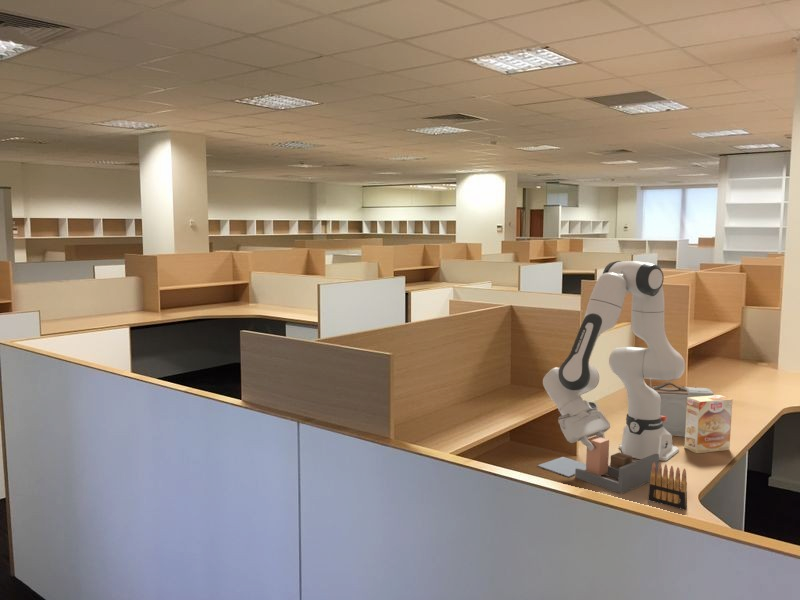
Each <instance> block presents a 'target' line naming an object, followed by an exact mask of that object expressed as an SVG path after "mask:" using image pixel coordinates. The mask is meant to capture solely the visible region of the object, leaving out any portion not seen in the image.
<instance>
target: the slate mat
mask: <svg viewBox="0 0 800 600" xmlns="http://www.w3.org/2000/svg"><path fill="white" fill-rule="evenodd" d="M537 467H538V468H540V469H544V470H546V471H550V472H552V473H556V474H558V475H560V474H561V476H563V475H564V477H566V478H570V477H573V476H574V477H575V469H576V468H578V469H581V470H584V471H586V463H583V462H581V461H577V460H575V459H571V458H568V457H565V456H561V457H558V458H555V459H553V460H549V461H546V462H543V463H540V464H537Z"/></svg>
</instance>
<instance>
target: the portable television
mask: <svg viewBox="0 0 800 600" xmlns="http://www.w3.org/2000/svg"><path fill="white" fill-rule="evenodd" d="M649 380H650V381H649V383H650V384H649V387H650V388H652V389H654V390H655V391H656V392H657V393H658V394H659V395H660V397H661V411H660V416H661V415H662V416H666V418H667V419H666V421H665V422H664V421H662V424H663V427H664V428H665V429H666V430H667V431H668V432H669V433H670V434H671V435H672V437H674V436H675V437H685V429H686V411H687V397H699V396H712V395H714V392H713V391H712V390H711V389H710V388H709V387H696V386H693V387H692V386H691V387H690V386H684V385H682V387H681V386H678V385H676V384H674V383H673V382H671V381H670V382H669V381H666V382H664V383H663V384H661V385H657V386H656V385H655V386H652V379H649ZM667 386H673V387H667Z"/></svg>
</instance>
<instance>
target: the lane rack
mask: <svg viewBox="0 0 800 600" xmlns="http://www.w3.org/2000/svg"><path fill="white" fill-rule="evenodd" d="M653 462H655V465H656V477H657V471H658V465H659V463H660V460H659V454H653V455H650V456H648V457H645V458H643V459H638V460H635V461H633V460H632V463H630V464H627V465H625V466H622V467H620V468H619V469H617V468H614V467H611V466H610V465H608V473H605V474H603V475H605V477H604V476H602V475H600V476H599V475H596V474H593V473H590V472H587V471H584V470H581V469H578V468H576V469H575V475H574V478H575V479H577V480H581V481H584V482H587V483H589V484H592V485H594V486H595V485H596V486H597V487H600V488H604V489H607V490H609V491H613V492H614V493H617V494H621V495H622V494H624V493H627V492H629V491H631V490H634V489H636V488H638V487H640V486H643V485H645V484H648V483H649V482H650V478H651V471H652V465H653ZM606 476H608V477H606ZM610 477H611V478H614V479H617V480H618V481H616V480H614V479H610Z"/></svg>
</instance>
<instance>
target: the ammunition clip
mask: <svg viewBox="0 0 800 600" xmlns="http://www.w3.org/2000/svg"><path fill="white" fill-rule="evenodd" d="M662 467H663V468H662ZM662 470H663V471H662ZM668 470H669V471H668ZM686 470H687V469H686V468H683V470H682V472H681V470H680V468H679V466H677V468H676V470H675V472H674V467H673V465H671V466H670V469H668V464H665V465H664V466H662V464H661V462H659V465H658V471H657V477H656V465H655V462H653V465H652V471H651V478H650V483H649V489H648V499H647V500H648V501H649V500H650V502H653V501H654V503H657V502H658V503H657V504H661V503H662V505H666V506H669V507H673V508H675V509H676V508H677V509H680V508H681V509H680V510H683V509H684V510H683V511H685V510H686V509H687V508H688V491H687V489H688V487H687V486H688V483H687V471H686ZM668 473H669V474H668ZM681 473H682V475H681Z"/></svg>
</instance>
